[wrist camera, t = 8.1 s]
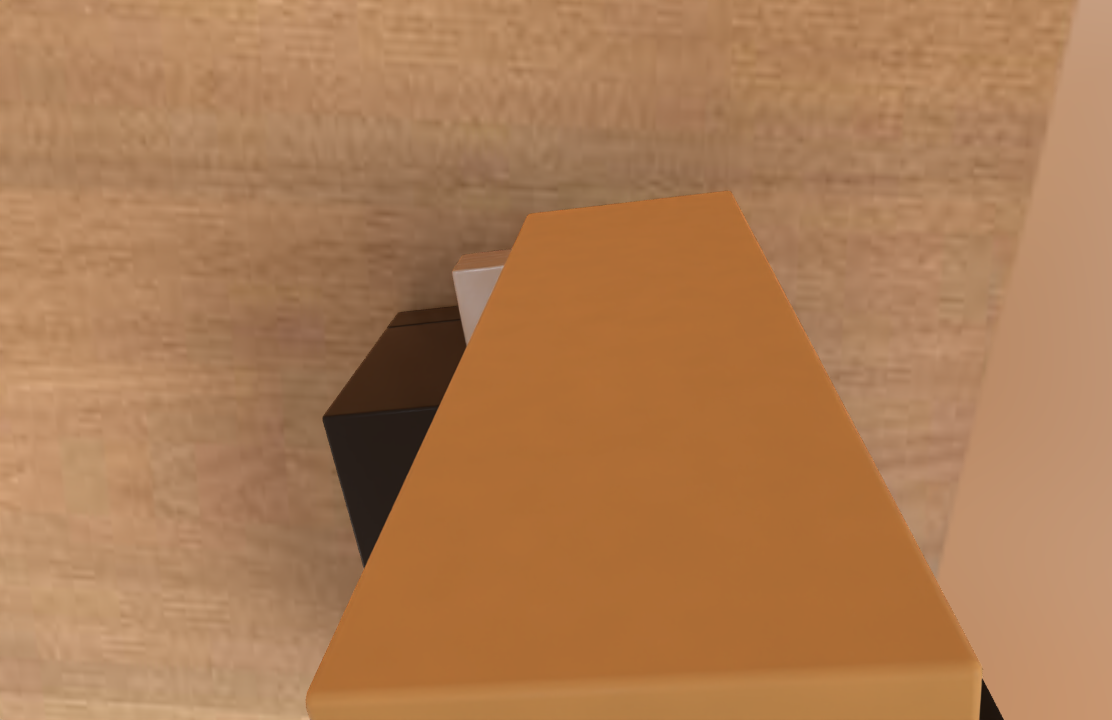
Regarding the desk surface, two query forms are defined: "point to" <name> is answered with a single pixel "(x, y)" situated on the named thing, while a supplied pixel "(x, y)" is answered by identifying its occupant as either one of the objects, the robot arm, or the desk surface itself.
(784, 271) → the desk surface
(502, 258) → the lever
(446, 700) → the toast
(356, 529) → the toaster
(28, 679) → the desk surface
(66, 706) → the desk surface
